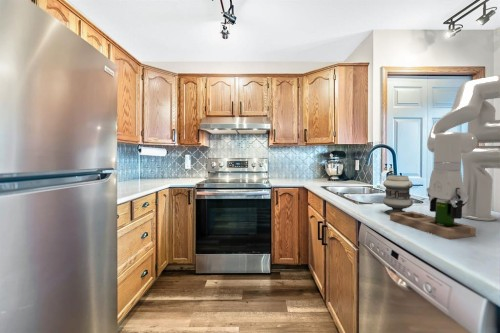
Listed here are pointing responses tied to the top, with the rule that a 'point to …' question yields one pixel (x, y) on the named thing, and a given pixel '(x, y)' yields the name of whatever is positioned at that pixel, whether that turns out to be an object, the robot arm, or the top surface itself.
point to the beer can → (443, 213)
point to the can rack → (432, 225)
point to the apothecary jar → (397, 193)
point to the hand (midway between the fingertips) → (444, 214)
